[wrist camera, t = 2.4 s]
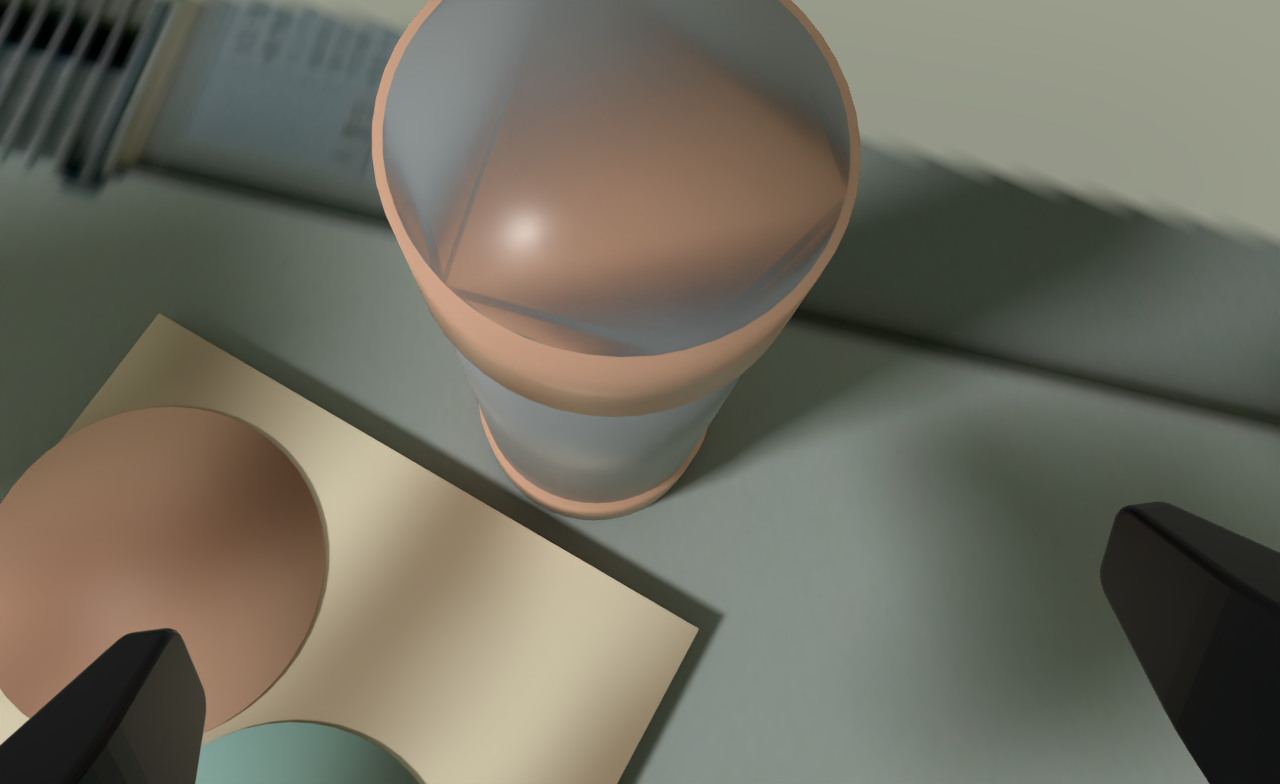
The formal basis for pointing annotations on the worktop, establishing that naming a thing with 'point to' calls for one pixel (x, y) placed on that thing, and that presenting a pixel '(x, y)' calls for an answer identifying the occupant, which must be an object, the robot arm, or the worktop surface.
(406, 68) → the tube terracotta
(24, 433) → the worktop surface
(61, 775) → the robot arm
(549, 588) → the board
